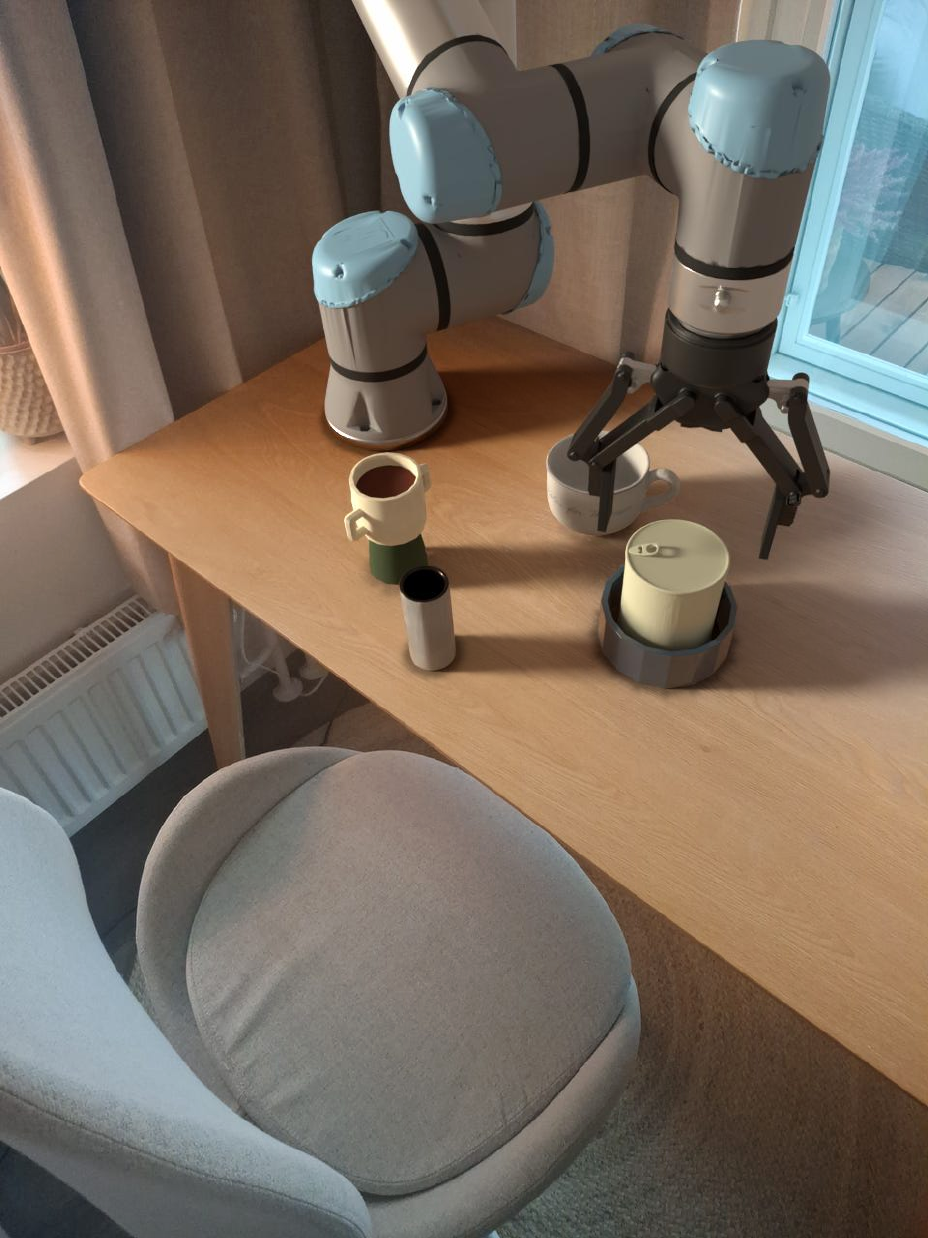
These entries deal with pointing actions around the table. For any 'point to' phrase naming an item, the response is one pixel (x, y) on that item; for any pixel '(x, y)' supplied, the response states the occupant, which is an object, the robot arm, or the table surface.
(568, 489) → the teacup
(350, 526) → the character mug
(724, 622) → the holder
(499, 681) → the table surface
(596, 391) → the table surface
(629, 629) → the can
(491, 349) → the table surface
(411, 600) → the planter
